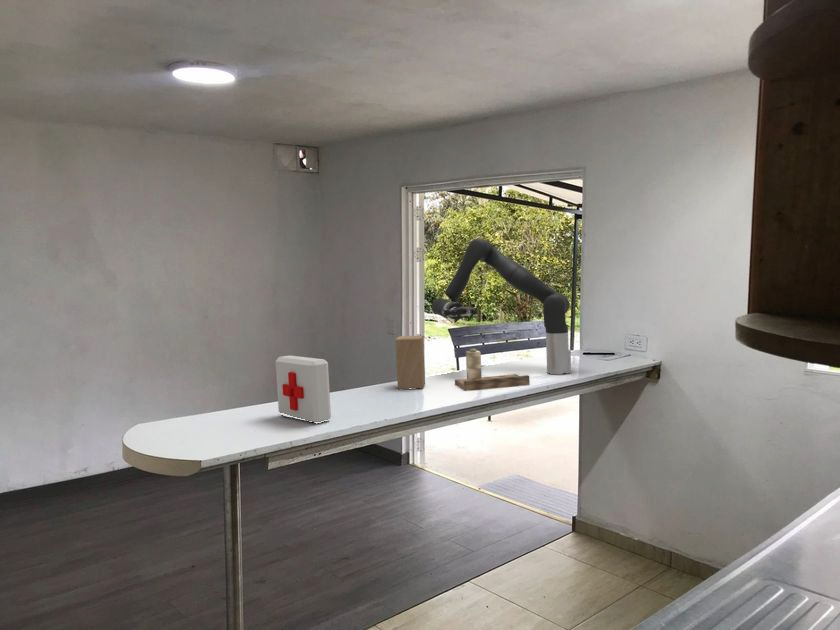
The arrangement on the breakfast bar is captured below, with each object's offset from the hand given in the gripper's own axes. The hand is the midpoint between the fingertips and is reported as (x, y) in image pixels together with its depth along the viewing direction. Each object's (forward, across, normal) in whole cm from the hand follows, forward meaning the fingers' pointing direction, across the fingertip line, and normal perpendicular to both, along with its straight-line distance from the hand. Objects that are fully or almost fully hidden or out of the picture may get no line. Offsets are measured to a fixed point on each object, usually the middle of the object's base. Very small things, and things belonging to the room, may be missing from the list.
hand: (465, 312), depth 267 cm
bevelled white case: (+40, -69, +28) cm, 85 cm away
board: (+12, +6, +28) cm, 31 cm away
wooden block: (+2, -24, +28) cm, 37 cm away
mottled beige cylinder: (+14, -2, +26) cm, 30 cm away
